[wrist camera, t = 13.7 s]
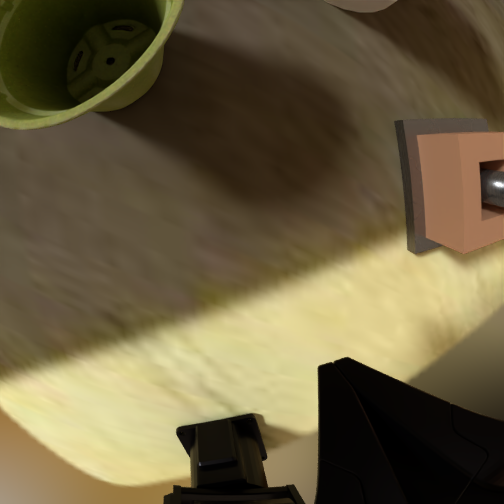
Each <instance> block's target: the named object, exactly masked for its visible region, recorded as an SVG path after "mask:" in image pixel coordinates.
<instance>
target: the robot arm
mask: <svg viewBox="0 0 504 504" xmlns="http://www.w3.org/2000/svg"><path fill="white" fill-rule="evenodd" d="M249 419H251V420H249ZM176 434H177V436H178V438H179V440H180V442H181V443H182V445H183V447H184V449H185V450H186V452H187V454H188V455H189V457H190V464H191V487H181V486H179V485H173V493H170V494H168V495H165V496H164V504H305V503H304V501H303V499H302V497H301V496H300V494H299V492H298V491H297V489H296V487H295V486H294V485H293V484H292V485H286V486H282V487H268V484H267V480H266V476H265V472H264V467H263V463H262V461H264V460H266V459H267V453H266V450H265V447H264V444H263V441H262V437H261V434H260V431H259V428H258V424H257V421H256V418H255V416H254V415H253V414H246V415H241V416H237V417H232V418H227V419H222V420H217V421H211V422H206V423H200V424H194V425H187V426H181V427H178V428H177V429H176ZM314 504H504V420H499V419H496V418H492V417H489V416H485V415H482V414H479V413H476V412H474V411H471V410H468V409H466V408H463V407H460V406H458V405H456V404H451V405H450V402H448V401H446V400H443V399H441V398H438V397H436V396H434V395H431V394H429V393H426V392H424V391H422V390H420V389H417V388H415V387H413V386H411V385H408V384H406V383H404V382H402V381H399V380H397V379H395V378H393V377H390V376H388V375H386V374H384V373H382V372H379V371H377V370H375V369H373V368H371V367H368V366H366V365H364V364H362V363H360V362H358V361H356V360H354V359H351V358H349V357H344V358H341V359H338V360H335V361H334V362H333V363H332V362H329V363H326V364H323V365H319V366H318V476H317V488H316V496H315V502H314Z"/></svg>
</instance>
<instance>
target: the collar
mask: <svg viewBox="0 0 504 504" xmlns="http://www.w3.org/2000/svg"><path fill="white" fill-rule="evenodd" d="M417 140H418V147H419V155H420V163H421V172H422V182H423V193H424V207H425V226H426V238H428V239H430V240H433V241H435V242H437V243H440V244H442V245H444V246H446V247H449V248H451V249H453V250H455V251H458V252H460V253H462V254H465V253H468V252H471V251H474V250H476V249H479V248H481V247H484V246H487V245H489V244H492V243H494V242H497V241H500V240H502V239H504V207H500V206H496V205H492V204H488V203H485V202H481V184H480V168H482V169H489V170H496V171H503V172H504V132H459V133H440V134H425V135H417Z"/></svg>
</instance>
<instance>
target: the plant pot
mask: <svg viewBox="0 0 504 504" xmlns="http://www.w3.org/2000/svg"><path fill="white" fill-rule="evenodd" d="M184 1H185V0H0V126H2V127H5V128H10V129H19V130H30V129H42V128H47V127H51V126H55V125H59V124H62V123H65V122H68V121H70V120H73V119H75V118H77V117H79V116H82V115H84V114H86V113H88V112H90V111H91V112H106V111H113V110H118V109H121V108H124V107H126V106H128V105H129V104H131V103H133V102H134V101H136V100H137V99H139V98H140V97H141V96H143V95H144V94H145V93H146V92H147V91H148V90H149V89H150V88H151V87H152V85H153V84H154V82H155V81H156V79H157V77H158V75H159V73H160V70H161V67H162V63H163V53H164V44H165V43H166V41H167V40H168V38H169V37H170V35H171V33H172V31H173V29H174V28H175V26H176V24H177V22H178V19H179V16H180V14H181V11H182V9H183V5H184ZM115 26H131V27H132V28H133V31H125V30H112V29H113V28H114V27H115ZM80 51H83V55H82V57H81V59H80V62H79V66H78V67H77V71H75V70H74V63H75V59H76V57H77V55H78V54H79V52H80ZM109 58H114V59H115V62H114V63H113V64H112V65H108V64H107V63H106V62H107V59H109ZM92 96H94V97H93V98H91V97H92Z"/></svg>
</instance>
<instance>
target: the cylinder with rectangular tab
mask: <svg viewBox="0 0 504 504" xmlns="http://www.w3.org/2000/svg"><path fill="white" fill-rule="evenodd" d="M323 1H325V2H327V3H329V4H332V5H334V6H337V7H339V8H342V9H345V10H350V11H355V12H376V11H380V10H384V9H386V8H387V7H389V6H390V5H391V4H393V3H394V2H396V1H398V0H323Z"/></svg>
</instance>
